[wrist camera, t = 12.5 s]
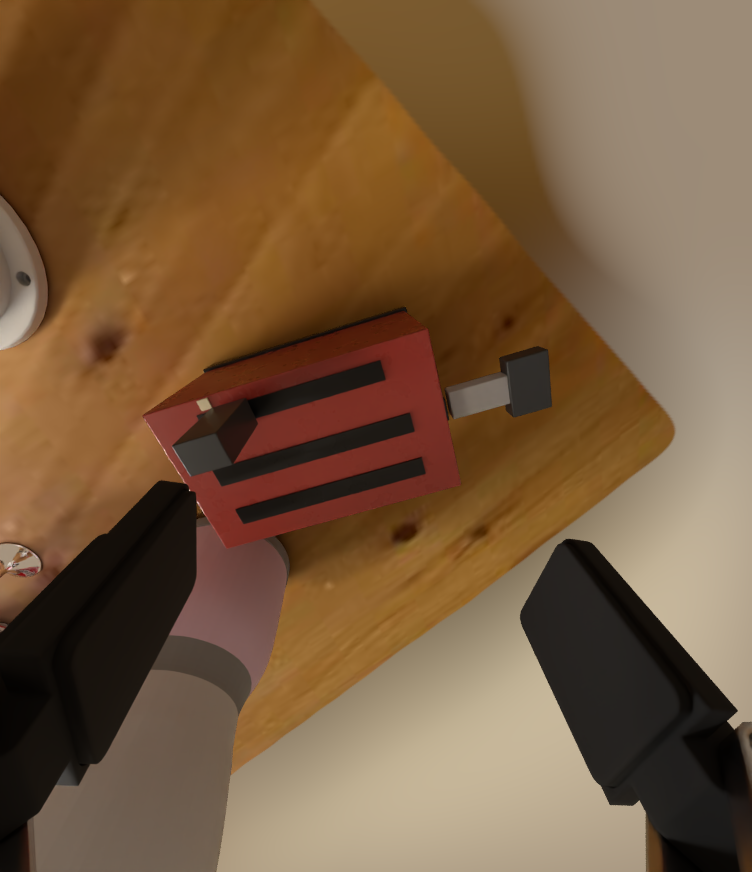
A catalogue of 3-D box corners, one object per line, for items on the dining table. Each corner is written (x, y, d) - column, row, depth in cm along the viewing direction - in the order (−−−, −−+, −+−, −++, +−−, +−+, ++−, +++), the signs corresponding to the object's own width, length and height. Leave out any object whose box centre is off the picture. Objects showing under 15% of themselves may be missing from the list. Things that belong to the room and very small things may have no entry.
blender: (144, 526, 34) (-1090, 2025, 5) (260, 491, 33) (-406, 2073, 4) (221, 627, 40) (-106, 1511, 12) (320, 600, 40) (231, 1487, 11)
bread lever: (441, 374, 21) (446, 379, 20) (538, 345, 20) (548, 349, 19) (452, 426, 22) (457, 434, 21) (542, 400, 22) (552, 407, 21)
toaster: (206, 367, 28) (134, 414, 19) (404, 305, 27) (431, 323, 17) (260, 473, 32) (224, 553, 23) (432, 424, 31) (466, 488, 22)
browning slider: (211, 407, 18) (170, 446, 14) (246, 397, 18) (215, 432, 14) (224, 433, 19) (190, 477, 15) (258, 423, 19) (233, 465, 15)
